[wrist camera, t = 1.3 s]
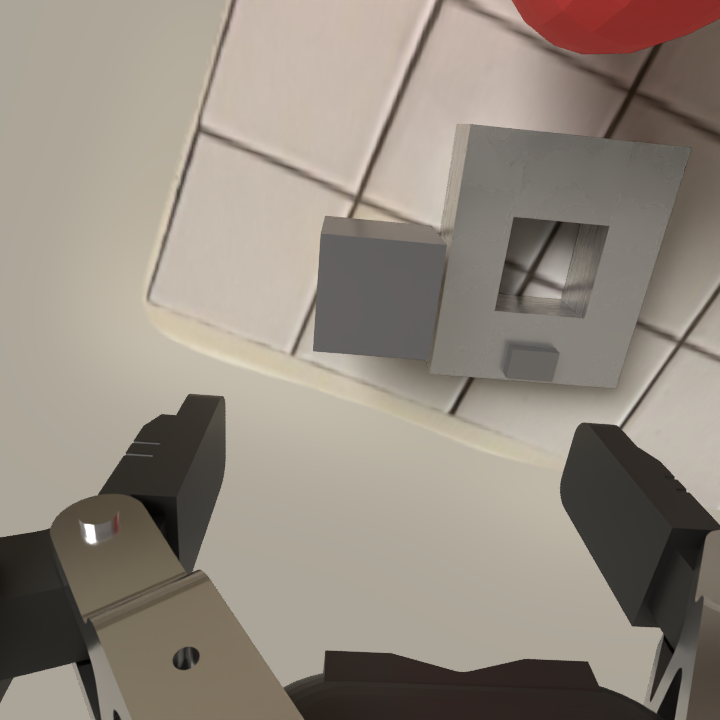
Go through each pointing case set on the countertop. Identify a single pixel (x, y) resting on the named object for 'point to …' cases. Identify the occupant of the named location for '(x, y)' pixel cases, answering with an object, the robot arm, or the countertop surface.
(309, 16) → the countertop surface
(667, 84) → the countertop surface
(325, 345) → the plug
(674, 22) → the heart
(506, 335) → the socket plate
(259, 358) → the countertop surface
